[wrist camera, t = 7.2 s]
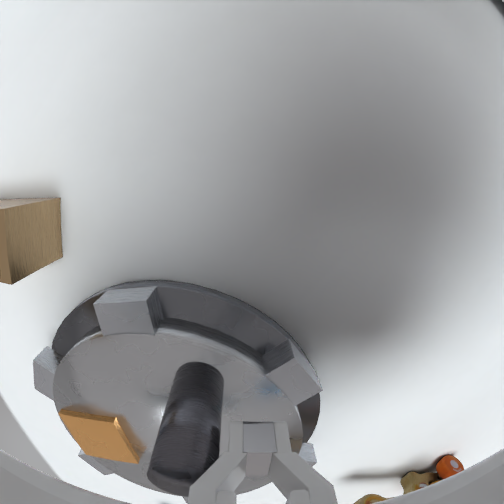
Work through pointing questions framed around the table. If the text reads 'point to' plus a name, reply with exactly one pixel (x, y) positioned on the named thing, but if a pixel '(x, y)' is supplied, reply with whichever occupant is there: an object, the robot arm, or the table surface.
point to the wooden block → (28, 236)
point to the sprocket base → (202, 312)
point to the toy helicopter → (421, 479)
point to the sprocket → (169, 393)
